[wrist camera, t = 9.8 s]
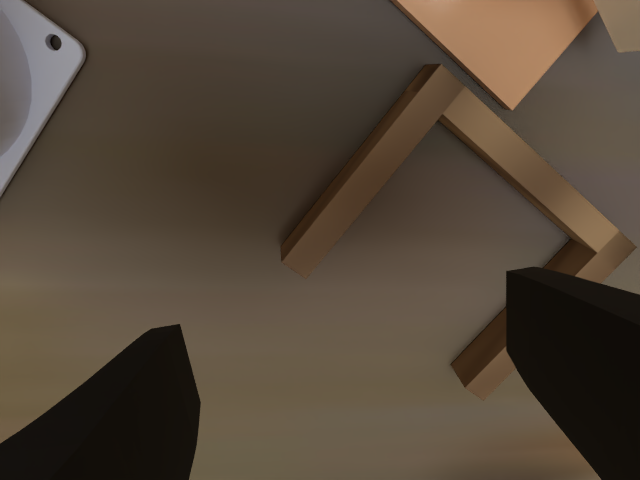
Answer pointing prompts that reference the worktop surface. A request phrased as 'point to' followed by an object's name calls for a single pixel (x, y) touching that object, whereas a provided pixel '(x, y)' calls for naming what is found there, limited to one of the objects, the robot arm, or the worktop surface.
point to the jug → (621, 22)
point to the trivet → (501, 38)
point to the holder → (498, 152)
